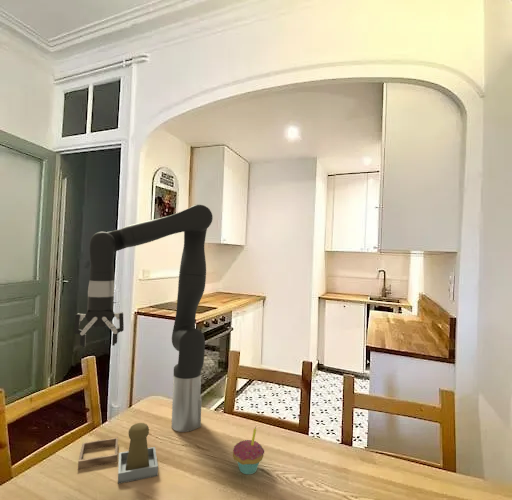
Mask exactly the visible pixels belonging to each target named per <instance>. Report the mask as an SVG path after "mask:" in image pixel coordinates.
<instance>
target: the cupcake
mask: <svg viewBox="0 0 512 500" xmlns="http://www.w3.org/2000/svg"><path fill="white" fill-rule="evenodd" d="M256 433H257V426H255V428H253V433H252V437H251V439H246V440H241V441H239V442H237V443H236V444H235V445H234V446H233V449H232V458H233V460H235V462H236V463H237V465H238V470H239V472H240V473H242V474H244V475H253V474H254V473H256V472H257V470H258V467H259V464H260V462H262V461H263V459H264V454H265V449H264V448H263V447H262V445H261V444H260V443H259V442H258V441H256V440H255V438H256Z"/></svg>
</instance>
